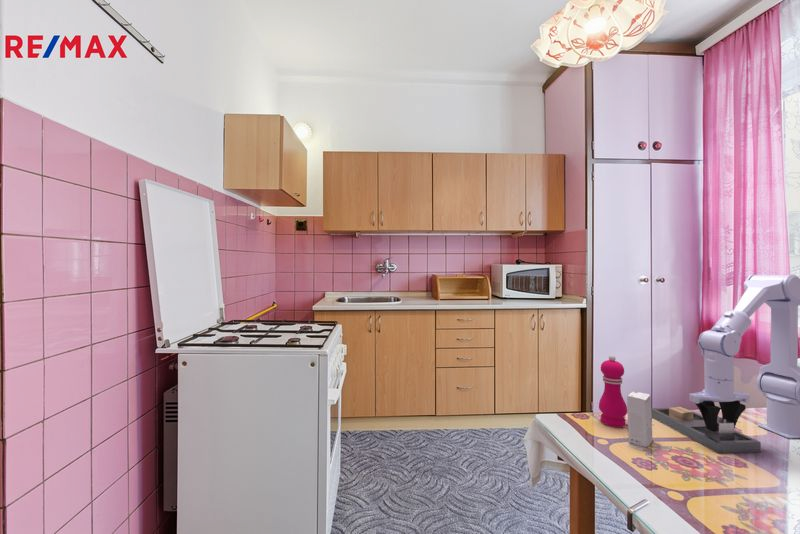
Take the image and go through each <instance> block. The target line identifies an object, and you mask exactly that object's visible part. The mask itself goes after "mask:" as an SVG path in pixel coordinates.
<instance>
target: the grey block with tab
mask: <svg viewBox="0 0 800 534" xmlns="http://www.w3.org/2000/svg"><path fill="white" fill-rule="evenodd" d="M734 430H735V429H734V423H733V422H730V421H728V420H726V419H724V418H722V416H719V415H718V418H717V429H716V432H713V431H711V430H709V429H707V428H706V425H705V435H707V436H709V437H711V438H713V439H715V440H717V441H734Z"/></svg>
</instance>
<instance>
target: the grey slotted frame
mask: <svg viewBox="0 0 800 534" xmlns="http://www.w3.org/2000/svg"><path fill="white" fill-rule="evenodd" d="M669 408H670V407H654V408H653V407H651V416H652V418H653V420H655V421H658V422H660V423H662V424H664V425H665V426H667V427H669V428H671V429H673V430H674V431H676V432H678V433H679V434H682V435H683V436H685V437H687V438H689V439H691V440H693V441H695V443H699V444H700V445H702V446H704V447H706V448H708V449H709V450H711V451H713V452H715V453H717V454H737V453H738V454H743V453H744V454H745V453H762V447H761V446H762V443H761V441H759V440H757V439H754V438H753V437H750V436H748V435H747V434H744V433H742V432H740V431H737V430H735V429H734V441H717V440H715V439H713V438H711V437H709V436H707V435H705V422H704V419H703V417H702V414H701V413H697V412H695V411H693V410H691V409H689V408H687V407H683V408H684V409H687V410H690V411H692V412H693V420H680V421H677V420H676V419H674V418H672V417H670V416H669Z"/></svg>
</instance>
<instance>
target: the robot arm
mask: <svg viewBox="0 0 800 534" xmlns="http://www.w3.org/2000/svg"><path fill="white" fill-rule="evenodd" d="M743 290H744V293H743V294H742V296H741V298H739V300H738V302H737V303H736V305H735V307H734V308H733V310H727V311H724V313H723V314H722V315H721V317H720V318H719V319H718V320H717V321H716V322H715V324H714V325H713V326H712V327H711V329H707V330H705V331H703V332H701V333H700V334H699V337H698V340H697V345H698V347H699V349H700V355H701V357H702V358H703V361H704V362H703V363H704V365H703V367H704V368H703V371H704V372H703V374H704V375H703V376H704V389H702V391H699V392H694V393H689V394H688V395H689V396H688V397H689V398H688V399H689V402H691V403H694V404H695V405H696V406H697V409H698V410H699V412H700V415H702V417H703V419H704V422H705V425H706V428H707V429H709V430H711V431H713V432H716V429H717V418H718V416H719V413H720V411H721V418H724V419H726V420H728V421H730V422H733V423H734V430H735V428H736V426H737V422H738V420H739V418H740V416H741V415H742V414H743V412H745V411H746V408H747V407H746V404H744V403H750V402H751V400H750V394H748V393H744V392H735V369H734V367H735V365H734V356H735V355H737V353H738V352H739V351H740V347H741V343H742V337H743V335H744V334H745V333H746V332H747V330H748V329H749V327H750V326H752V320H751V318H750V317H751V316H752V315H753V314H754V313H756V312H757V310H758V309H759V308H760V307H761V306H763V304H766V305H767V306H768V307H769V308H770V361H769V363H767V364H764V365H762V366H761V367H759V372H758V376H757V377H756V387H757V389H758V390H759V392H761V393H762V396H763V397H766V402H765V403H766V423H757V426H758V427H760V428H762V429H765V430H767V431H770V432H773V433H775V434H776V435H779V436H782V437H784V438H787V439H800V366H799V365H798V358H799V357H798V354H799V353H798V352H799V351H798V350H799V349H798V348H799V347H798V341H799V340H798V339H799V337H798V336H799V335H798V334H799V329H798V328H799V306H800V277H799V276H798V275H797V274H753V273H752V274H750V275H748V276H747V277H746V279H745V281H744V282H743ZM742 402H743V403H742ZM715 403H718V404H719V406H717V405H716V404H715Z"/></svg>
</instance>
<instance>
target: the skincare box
mask: <svg viewBox="0 0 800 534" xmlns="http://www.w3.org/2000/svg"><path fill="white" fill-rule="evenodd" d="M626 397H627V399H626V400H627V404H626V406H627V425H628V427H627V429H628V435H627V436H628V442H629V443H631V444H634V445H637V446H640V447H643V448H648V447H649V446H650V445H651V444H652V442H653V423H652V422H653V420H652V416H651V408H652V403H651V402H652V399H651V394H649V393H645V392H640V391H633V390H632V392H630V393H628V395H627V396H626Z"/></svg>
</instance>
